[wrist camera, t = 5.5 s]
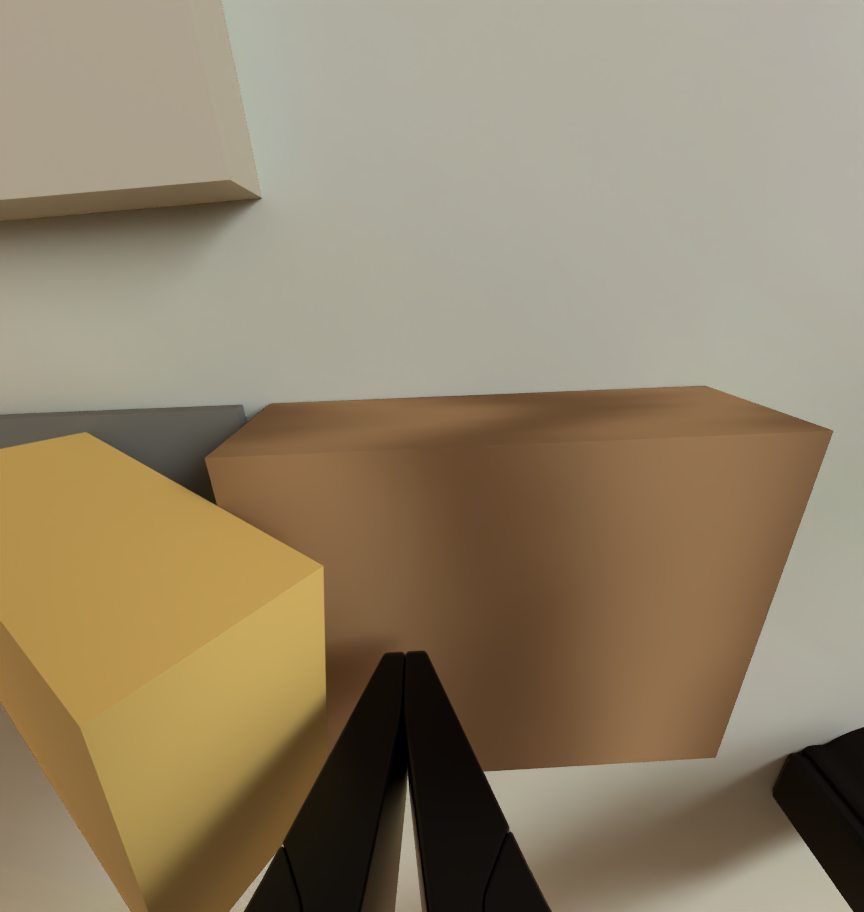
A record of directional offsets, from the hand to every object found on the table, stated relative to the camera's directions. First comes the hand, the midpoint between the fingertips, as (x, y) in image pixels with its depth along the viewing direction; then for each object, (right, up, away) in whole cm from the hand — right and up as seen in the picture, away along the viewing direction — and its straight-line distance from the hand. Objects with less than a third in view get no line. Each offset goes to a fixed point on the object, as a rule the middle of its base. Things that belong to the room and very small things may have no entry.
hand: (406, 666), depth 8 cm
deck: (+2, +2, +4) cm, 5 cm away
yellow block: (-5, +1, +1) cm, 5 cm away
